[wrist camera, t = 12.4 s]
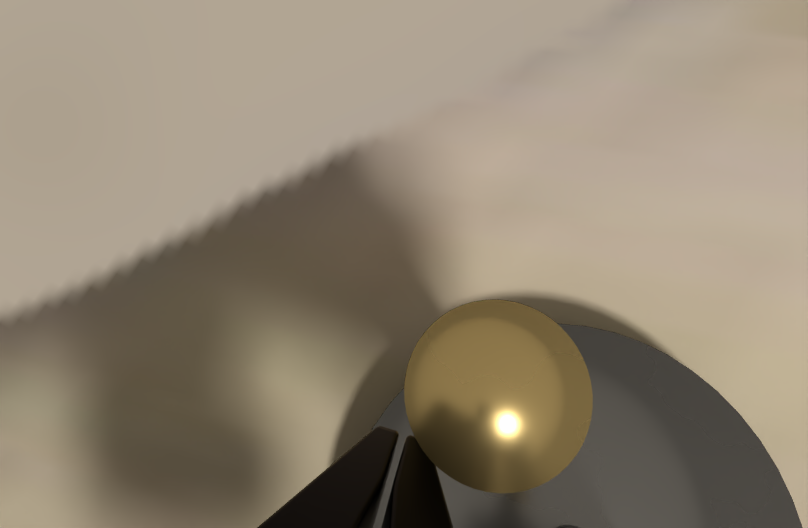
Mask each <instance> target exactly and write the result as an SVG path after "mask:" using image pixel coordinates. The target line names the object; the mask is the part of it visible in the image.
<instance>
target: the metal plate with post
mask: <svg viewBox="0 0 808 528" xmlns="http://www.w3.org/2000/svg"><path fill="white" fill-rule="evenodd" d="M378 426H382V427H386V428H389V429H392V430H396V431H397V432H398V434H399V437H398V441H397V445H396V449H395V453H394V457H393V460H392V464H391V468H390V472H389V475H388V478H387V482H386V485H385V489H384V492H383V496H382V499H381V502H380V506H379V509H378V513H377V516H376V520H375V523H374V526H373V528H381V527H382V523H383V519H384V515H385V512H386V508H387V504H388V500H389V497H390V493H391V489H392V485H393V481H394V478H395V474H396V471H397V467H398V464H399V461H400V457H401V454H402V450H403V447H404V443H405V440H406V437H407V436H409V435H412V436H415V438H416V440H417V442H418V443H419V445H420V447H421V448H422V450H423V451H424V453H425V454H426V455H427V456H428V458H429V459H430V460H431V461H432V462H433V463H434V464H435V465H436V469H437V472H438V476H439V479H440V483H441V486H442V490H443V493H444V497H445V500H446V504H447V507H448V511H449V514H450V518H451V521H452V525H453V528H802V525H801V522H800V519H799V517H798V514H797V511H796V508H795V505H794V502H793V499H792V497H791V495H790V493H789V491H788V489H787V487H786V485H785V483H784V481H783V479H782V476H781V474H780V472H779V470H778V468H777V467H776V465H775V463H774V462H773V460H772V459H771V457H770V455H769V454H768V452H767V451H766V449H765V447H764V446H763V444H762V442H761V441H760V439H759V438H758V437H757V436H756V434H755V433H754V432H753V430H752V429H751V428H750V427H749V425H748V424H747V423H746V422H745V420H744V419H743V418H742V416H741V415H740V414H739V413H738V412H737V411H736V410H735V409H734V408H733V407H732V406H731V405H730V404H729V403H728V402H727V401H726V400H725V399H724V398H723V397H722V396H721V395H720V394H719V392H718V391H716V390H715V389H714V388H713V387H712V386H710V385H709V384H708V383H707V382H705V381H704V380H703V379H702V378H700V377H699V376H698V375H697V374H696V373H694V372H693V371H692V370H690V369H689V368H687V367H685V366H684V365H682V364H681V363H679V362H678V361H676V360H675V359H673V358H671V357H670V356H668V355H667V354H665V353H663V352H660V351H658V350H656V349H654V348H652V347H650V346H648V345H646V344H644V343H642V342H640V341H637V340H634V339H631V338H628V337H626V336H623V335H620V334H617V333H614V332H610V331H605V330H601V329H596V328H592V327H587V326H578V325H566V324H557V323H556V322H554V321H553V320H552V319H551V318H549V317H548V316H546V315H545V314H543V313H542V312H540V311H538V310H536V309H533V308H531V307H529V306H526V305H523V304H520V303H517V302H512V301H507V300H481V301H476V302H471V303H468V304H465V305H461V306H459V307H457V308H455V309H453V310H451V311H449V312H448V313H446V314H444V315H443V316H441V317H440V318H439V319H438V320H437V321H435V322H434V323H433V324H432V325H431V326H430V327H429V328H428V329H427V330H426V331H425V333H424V334H423V335H422V337H421V338H420V340H419V341H418V343H417V345H416V346H415V348H414V350H413V352H412V355H411V357H410V360H409V363H408V367H407V371H406V375H405V385H404V388H403V389H402V391H401V392H400V393H399V394H398V395H397V396H396V397H395V398H394V399H393V401H392V402H391V403H390V404H389V406H388V407H387V408H386V410H385V411H384V413H383V414H382V416H381V417H380V419H379V420H378V421H377V423H376V424H375V426H374V427H373V429H372V430H374V429H375V428H376V427H378Z"/></svg>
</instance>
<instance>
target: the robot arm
mask: <svg viewBox="0 0 808 528" xmlns="http://www.w3.org/2000/svg"><path fill="white" fill-rule="evenodd" d="M398 437H399V434H398V432H397V431H396V430H392V429H389V428H386V427H382V426H378V427H376V428H375V429H374V430H372V431H371V432H370V433H369V434H368V435H367V436H365V437H364V438H363V439H362V440H361V441H359V442H358V443H357V444H356V445H355V446H353V447H352V448H351V449H350V450H349V451H348V452H346V453H345V454H344V455H343V456H342V457H340V458H339V459H338V460H337V461H336V462H335V463H333V464H332V465H331V466H330V467H329V468H327V469H326V470H325V471H324V472H323V473H321V474H320V475H319V476H318V477H317V478H316V479H314V480H313V481H312V482H311V483H310V484H308V485H307V486H306V487H305V488H304V489H302V490H301V491H300V492H299V493H298V494H297V495H295V496H294V497H293V498H292V499H291V500H289V501H288V502H287V503H286V504H285V505H284V506H282V507H281V508H280V509H279V510H278V511H276V512H275V513H274V514H273V515H272V516H270V517H269V518H268V519H267V520H266V521H265V522H263V523H262V524H261V525H260V526H259V527H257V528H373V526H374V523H375V520H376V516H377V513H378V509H379V506H380V502H381V499H382V496H383V492H384V489H385V485H386V482H387V478H388V475H389V472H390V468H391V464H392V460H393V457H394V453H395V449H396V445H397V441H398ZM381 528H453V525H452V521H451V518H450V514H449V511H448V507H447V504H446V500H445V497H444V493H443V490H442V486H441V483H440V479H439V476H438V472H437V469H436V465H435V464H434V463H433V462H432V461H431V460H430V459H429V458H428V456H427V455H426V454H425V453H424V451H423V450H422V448H421V447H420V445H419V443H418V442H417V440H416V438H415V436H412V435H409V436H407V437H406V440H405V443H404V447H403V450H402V454H401V457H400V461H399V464H398V467H397V471H396V474H395V478H394V481H393V485H392V489H391V493H390V497H389V500H388V504H387V508H386V512H385V515H384V519H383V523H382V527H381Z"/></svg>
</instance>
